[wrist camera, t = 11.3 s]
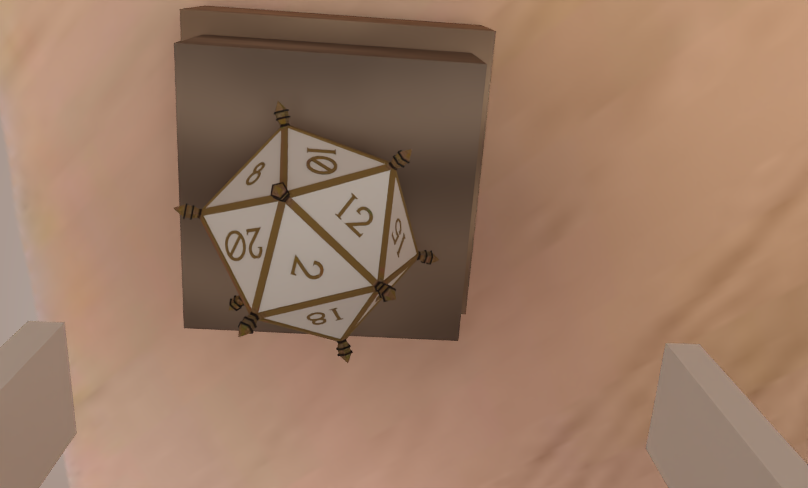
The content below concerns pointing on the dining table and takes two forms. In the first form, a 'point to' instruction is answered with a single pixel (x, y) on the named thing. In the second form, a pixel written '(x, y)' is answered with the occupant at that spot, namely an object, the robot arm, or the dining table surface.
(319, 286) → the game die
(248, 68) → the walnut tower base
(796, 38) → the dining table surface
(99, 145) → the dining table surface
